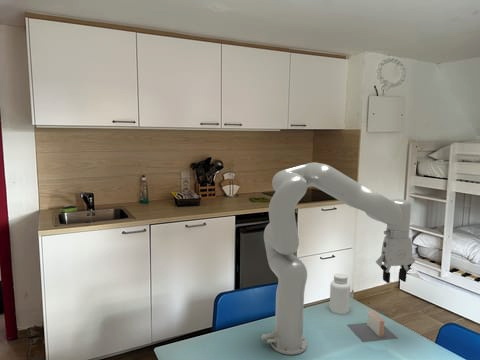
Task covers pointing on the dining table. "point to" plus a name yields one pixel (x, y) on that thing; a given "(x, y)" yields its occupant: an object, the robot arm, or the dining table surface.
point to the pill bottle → (340, 294)
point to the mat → (370, 333)
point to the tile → (375, 323)
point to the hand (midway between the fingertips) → (394, 280)
